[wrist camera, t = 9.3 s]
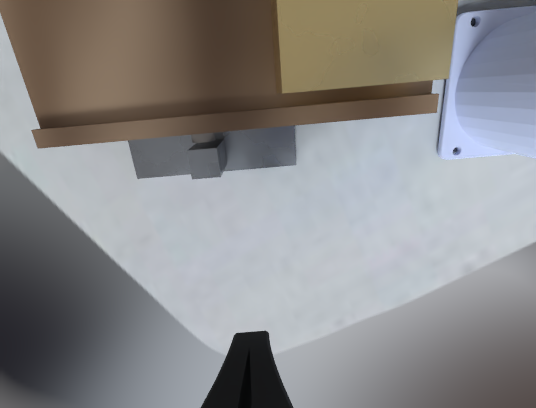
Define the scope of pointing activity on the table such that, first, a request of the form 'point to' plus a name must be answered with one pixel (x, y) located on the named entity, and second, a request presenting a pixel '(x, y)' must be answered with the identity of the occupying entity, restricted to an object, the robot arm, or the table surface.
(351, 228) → the table surface
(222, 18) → the beam
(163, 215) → the table surface
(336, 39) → the rider
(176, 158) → the beam stand
